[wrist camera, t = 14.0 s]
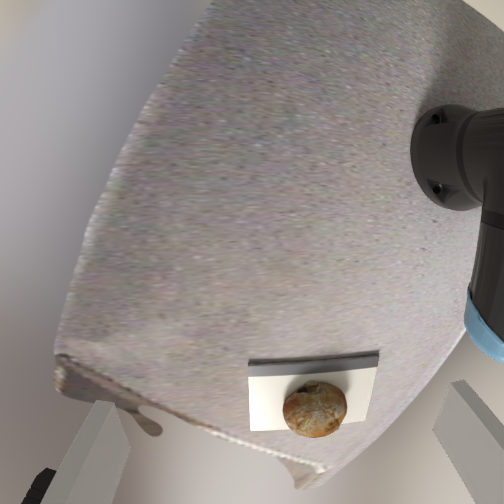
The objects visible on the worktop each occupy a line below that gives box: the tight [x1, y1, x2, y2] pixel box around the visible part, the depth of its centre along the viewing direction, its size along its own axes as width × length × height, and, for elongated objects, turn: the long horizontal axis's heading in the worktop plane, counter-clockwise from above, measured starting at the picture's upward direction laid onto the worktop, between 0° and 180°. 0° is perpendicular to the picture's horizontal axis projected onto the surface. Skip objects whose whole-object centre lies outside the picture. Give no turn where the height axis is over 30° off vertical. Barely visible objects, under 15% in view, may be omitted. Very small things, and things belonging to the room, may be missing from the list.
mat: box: [248, 354, 379, 431], centre depth 47 cm, size 20×14×1 cm
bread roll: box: [282, 380, 348, 438], centre depth 45 cm, size 10×10×8 cm
